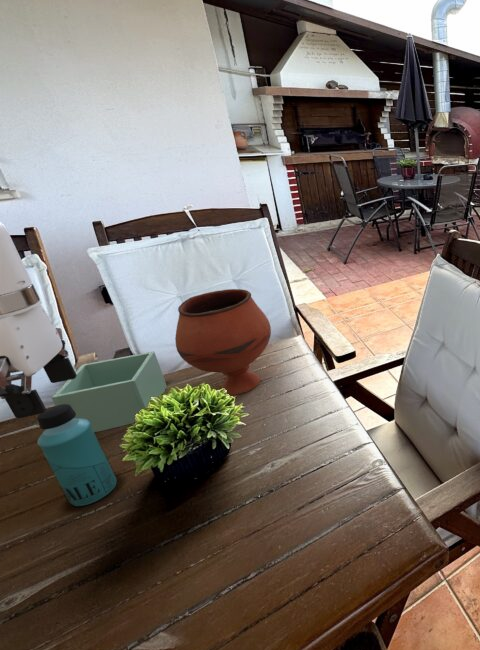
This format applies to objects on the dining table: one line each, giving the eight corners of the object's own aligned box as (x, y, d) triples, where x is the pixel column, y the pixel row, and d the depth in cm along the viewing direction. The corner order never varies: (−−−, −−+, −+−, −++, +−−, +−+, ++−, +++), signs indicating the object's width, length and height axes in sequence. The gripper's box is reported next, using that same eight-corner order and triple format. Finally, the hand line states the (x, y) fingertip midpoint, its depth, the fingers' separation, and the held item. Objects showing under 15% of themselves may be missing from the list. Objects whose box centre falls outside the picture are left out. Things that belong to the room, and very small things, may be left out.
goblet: (183, 390, 103) (153, 302, 94) (263, 357, 117) (243, 278, 108) (211, 421, 92) (179, 326, 83) (294, 381, 106) (275, 296, 98)
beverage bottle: (116, 477, 78) (76, 392, 71) (125, 494, 74) (85, 407, 67) (68, 501, 73) (21, 412, 66) (76, 521, 69) (26, 429, 62)
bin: (71, 438, 87) (51, 397, 83) (98, 401, 99) (82, 364, 95) (150, 419, 93) (134, 380, 89) (167, 386, 104) (154, 351, 100)
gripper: (2, 286, 65) (47, 374, 71) (-86, 333, 51) (-20, 439, 57) (64, 278, 68) (102, 363, 74) (-2, 320, 54) (51, 422, 60)
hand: (49, 396), depth 65 cm, fingers open, 9 cm apart
